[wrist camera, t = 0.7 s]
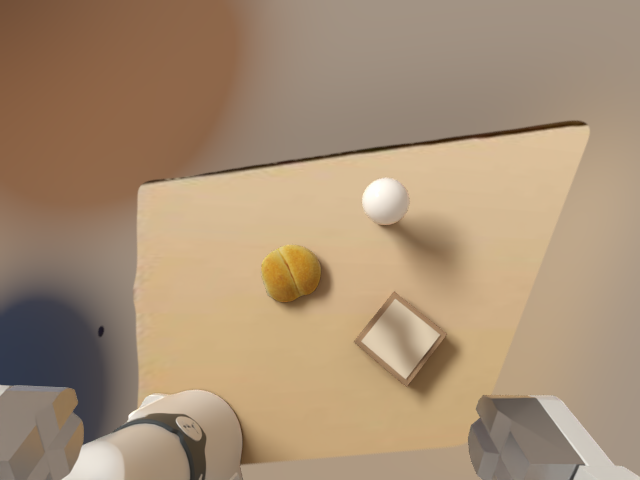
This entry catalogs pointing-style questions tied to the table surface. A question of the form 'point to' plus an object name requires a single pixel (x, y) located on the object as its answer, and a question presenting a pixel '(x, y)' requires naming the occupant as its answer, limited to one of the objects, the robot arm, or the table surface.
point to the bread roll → (290, 273)
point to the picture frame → (400, 338)
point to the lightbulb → (385, 201)
